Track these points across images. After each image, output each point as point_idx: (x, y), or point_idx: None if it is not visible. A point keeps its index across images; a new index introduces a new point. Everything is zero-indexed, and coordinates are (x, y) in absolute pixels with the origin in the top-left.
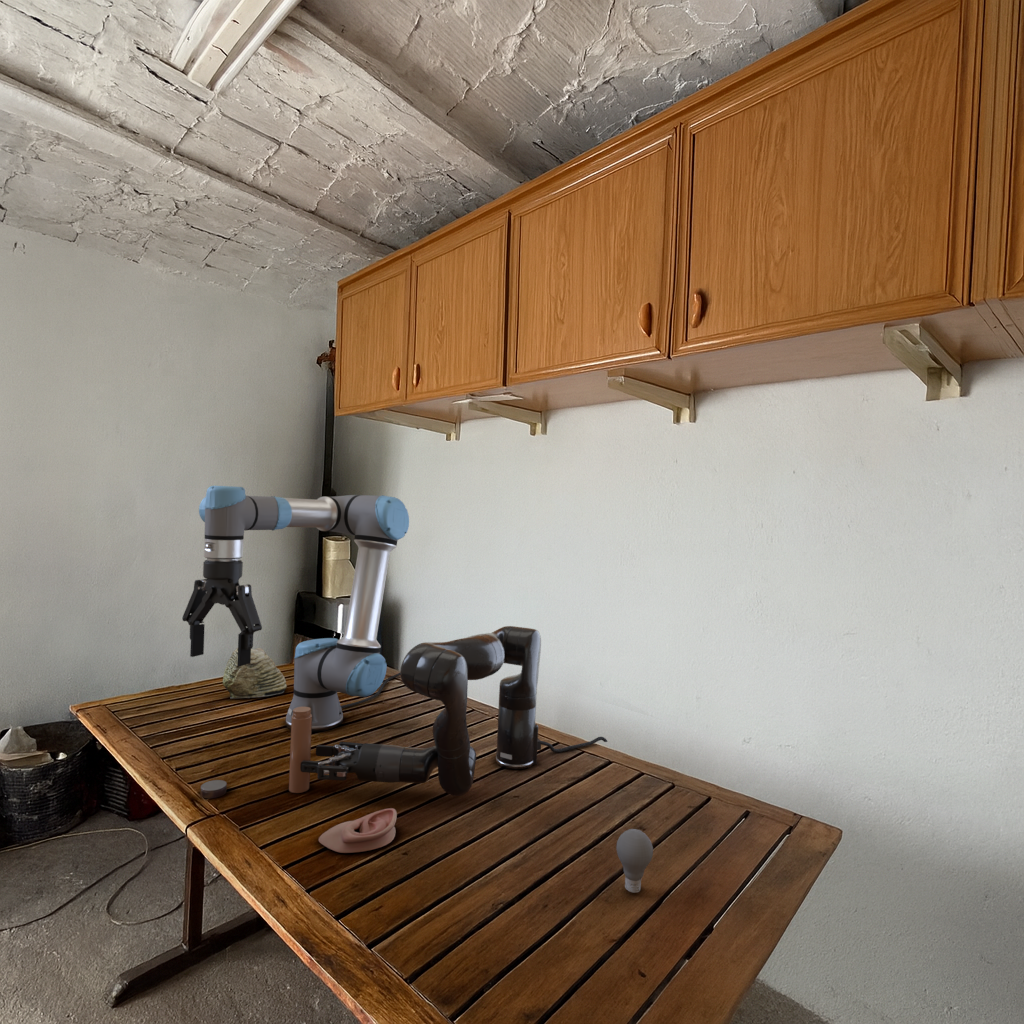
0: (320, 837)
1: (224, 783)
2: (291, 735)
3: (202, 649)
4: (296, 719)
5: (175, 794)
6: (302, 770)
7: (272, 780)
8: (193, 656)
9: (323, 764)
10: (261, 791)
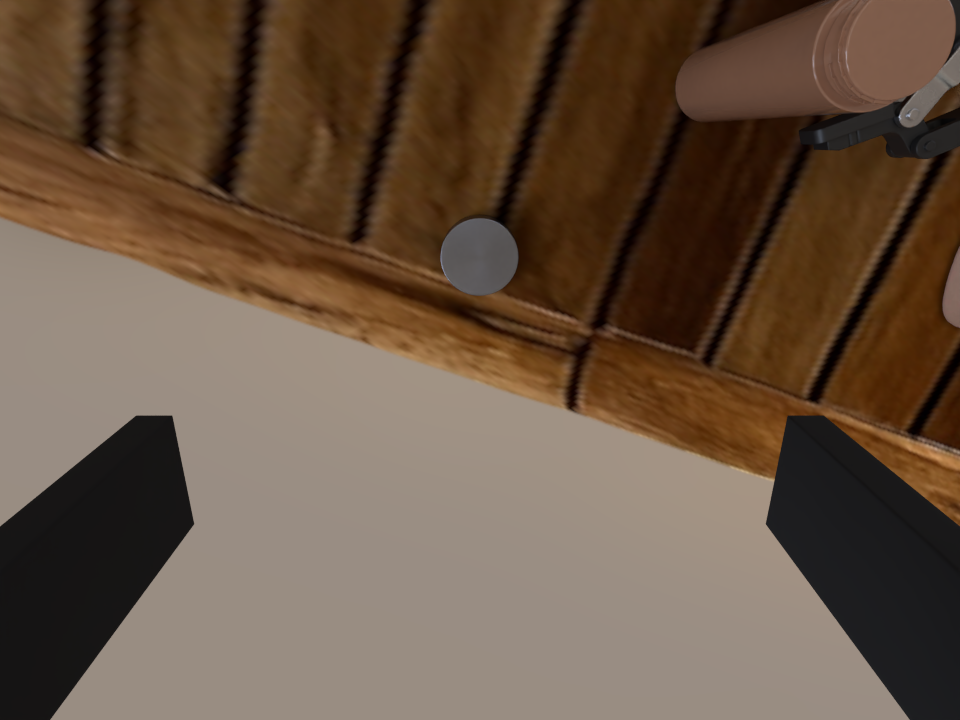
0: (954, 316)
1: (499, 232)
2: (784, 109)
3: (148, 456)
4: (869, 110)
5: (388, 312)
6: (816, 149)
7: (580, 80)
8: (192, 520)
9: (922, 115)
10: (605, 167)
